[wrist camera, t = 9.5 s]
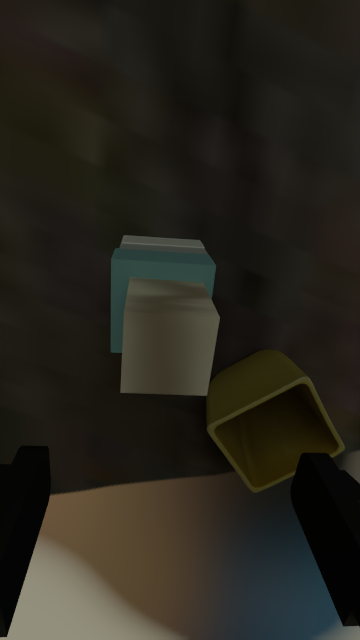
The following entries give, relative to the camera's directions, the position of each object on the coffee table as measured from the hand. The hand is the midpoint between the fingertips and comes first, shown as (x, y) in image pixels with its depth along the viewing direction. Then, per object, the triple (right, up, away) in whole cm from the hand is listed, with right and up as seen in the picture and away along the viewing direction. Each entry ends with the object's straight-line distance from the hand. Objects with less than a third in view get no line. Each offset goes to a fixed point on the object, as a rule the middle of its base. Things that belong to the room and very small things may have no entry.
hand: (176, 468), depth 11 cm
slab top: (-1, +7, +14) cm, 16 cm away
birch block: (-1, +5, +11) cm, 13 cm away
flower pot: (+7, -1, +25) cm, 26 cm away
